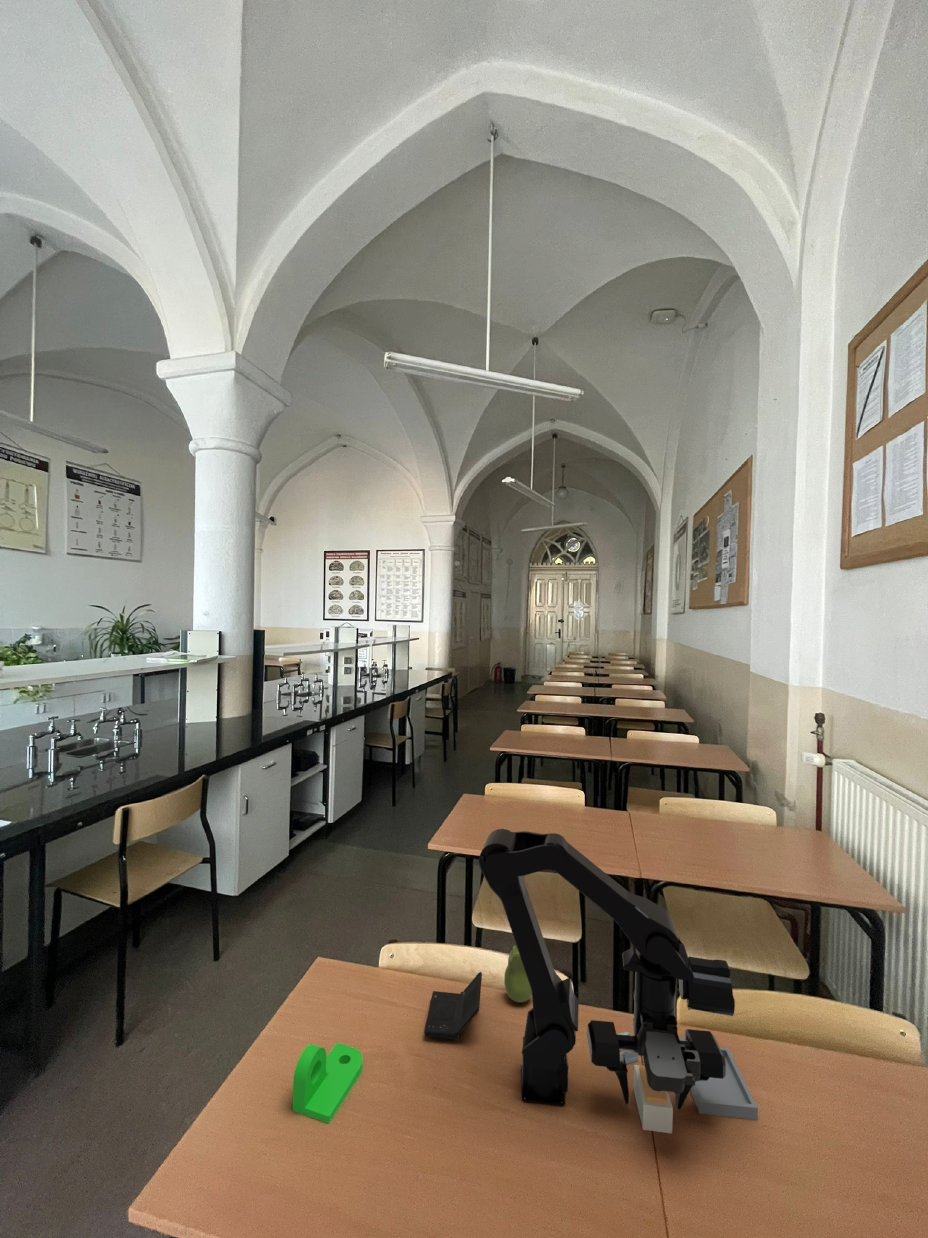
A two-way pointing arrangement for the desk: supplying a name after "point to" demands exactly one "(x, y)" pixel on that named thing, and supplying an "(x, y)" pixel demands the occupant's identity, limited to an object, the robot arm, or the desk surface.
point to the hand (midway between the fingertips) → (652, 1104)
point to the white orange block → (652, 1104)
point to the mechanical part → (325, 1080)
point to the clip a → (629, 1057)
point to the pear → (516, 978)
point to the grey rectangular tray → (725, 1093)
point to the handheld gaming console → (453, 1011)
